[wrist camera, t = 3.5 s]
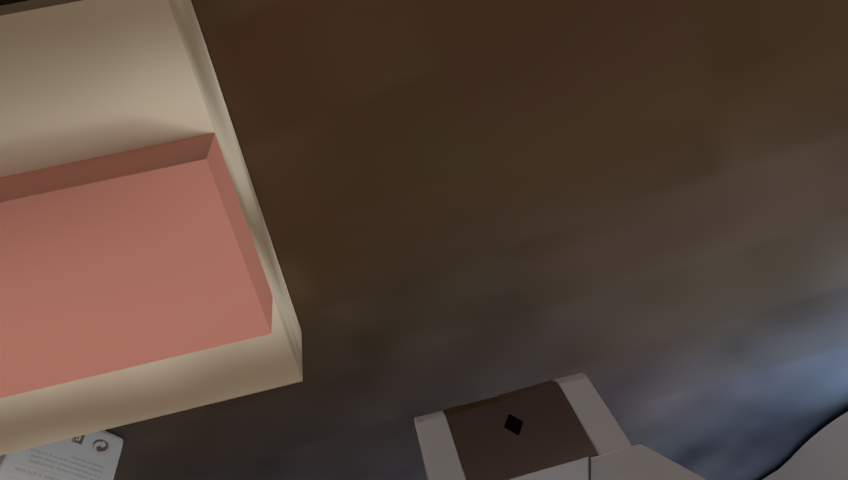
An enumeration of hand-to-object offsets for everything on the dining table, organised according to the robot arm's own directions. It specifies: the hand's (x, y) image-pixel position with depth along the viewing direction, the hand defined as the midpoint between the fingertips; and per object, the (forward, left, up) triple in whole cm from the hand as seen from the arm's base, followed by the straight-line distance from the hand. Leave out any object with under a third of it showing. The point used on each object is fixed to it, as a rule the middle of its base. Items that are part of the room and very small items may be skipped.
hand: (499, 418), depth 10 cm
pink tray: (0, +10, -10) cm, 14 cm away
